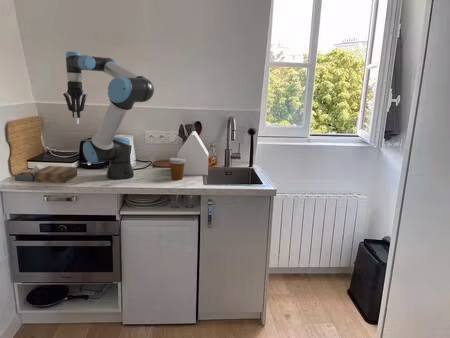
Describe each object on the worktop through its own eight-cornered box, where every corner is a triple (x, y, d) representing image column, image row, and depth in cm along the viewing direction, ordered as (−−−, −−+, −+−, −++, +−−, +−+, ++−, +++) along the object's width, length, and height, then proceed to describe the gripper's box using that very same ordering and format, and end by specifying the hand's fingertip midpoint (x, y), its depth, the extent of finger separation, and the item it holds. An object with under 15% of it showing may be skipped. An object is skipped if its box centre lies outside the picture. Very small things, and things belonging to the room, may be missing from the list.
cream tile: (44, 167, 196) (40, 163, 196) (40, 169, 191) (35, 165, 191) (39, 173, 197) (35, 169, 197) (34, 175, 192) (30, 171, 192)
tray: (49, 174, 203) (48, 169, 202) (33, 181, 187) (33, 176, 186) (31, 173, 203) (31, 168, 202) (15, 180, 187) (14, 175, 187)
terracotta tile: (26, 169, 197) (27, 174, 197) (21, 171, 192) (22, 177, 192) (35, 170, 197) (36, 175, 197) (30, 172, 192) (31, 177, 192)
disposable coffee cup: (176, 181, 199) (176, 161, 196) (165, 178, 205) (165, 158, 202) (188, 179, 206) (189, 159, 203) (178, 175, 212) (178, 156, 209)
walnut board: (77, 175, 202) (77, 167, 201) (64, 183, 187) (63, 173, 186) (49, 174, 203) (49, 165, 202) (34, 181, 187) (33, 172, 186)
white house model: (207, 169, 232) (209, 131, 226) (207, 175, 217) (209, 135, 211) (178, 168, 231) (179, 130, 225) (176, 174, 216) (177, 133, 210)
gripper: (88, 81, 199) (90, 123, 204) (66, 80, 199) (68, 122, 204) (83, 81, 191) (85, 124, 197) (59, 80, 192) (62, 123, 197)
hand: (76, 123), depth 201 cm, fingers closed
